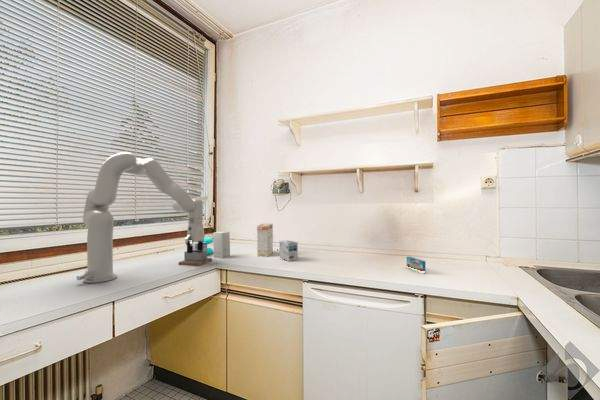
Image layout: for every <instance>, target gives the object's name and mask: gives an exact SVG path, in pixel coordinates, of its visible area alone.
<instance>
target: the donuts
mask: <svg viewBox="0 0 600 400" xmlns="http://www.w3.org/2000/svg"><path fill="white" fill-rule="evenodd" d="M203 242H206V243H207V245H210V244H212V243H213V238H211V237H204V241H203ZM196 243H198V242H196ZM211 254H214V249H213V248H211V247H207V256H208V255H211Z"/></svg>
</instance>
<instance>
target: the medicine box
mask: <svg viewBox="0 0 600 400" xmlns="http://www.w3.org/2000/svg"><path fill="white" fill-rule="evenodd" d="M192 246H193V250H197V246H198V243H197V242H193V244H192ZM207 248H208V244H207V243H206V242H203V250H202V251H207Z"/></svg>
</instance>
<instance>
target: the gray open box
mask: <svg viewBox="0 0 600 400" xmlns="http://www.w3.org/2000/svg"><path fill="white" fill-rule="evenodd" d="M183 253H184V259H183V261H194V262H201V261H204V260H207V258H208V255H207V251H202V250H193V253H187V250H186V251H184V252H183Z"/></svg>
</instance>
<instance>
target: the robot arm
mask: <svg viewBox="0 0 600 400" xmlns="http://www.w3.org/2000/svg"><path fill="white" fill-rule="evenodd" d="M123 173H124V174H131V175H136V176H144V177H145V176H146V177H147V178H148V180H150V181H151V183H152V184H153V185H154V187H155V188H156V189H157V190H158V191H159V192H161V193H163V194H165V195H166V196H169V197H170V198H172V200H174V201H173V202H172V208H173V210H174V211H175V212H176V213H177V212H178V213H182V214H183V213H187V214H188V221H187V233H186V237H184V242H185V245H186V251H187V253H193V246H192V244H193V243H197V242H198V246H197V250H203V241H204V238H206V235H205V230H204V229H205V227H204V223H203V217H204V216H203V214H204V210H203V208H204V206H203V205H204V203H203V202H204V201H203V200H202V199H192V197H191V196H190V195H189V193H188V192H187V191H186V190H185V189H184V188H183V187H181V186H180V185H179V184H178V183H177V182H176V181H175V180H173V179H172V177H171V176H170V175H169V174H168V173H167V171H166V170H165V168H164V167H163V166H162V165H161V164H160V163H159V162H158V160H156V159H154V158H151V157H150V158H144V159H142V158H137V157H136V156H135V154H133V153H132V152H129V151H121V152H119V153H115V154H113V155H111V156H109V157H108V158H106V160H105V161H104V162H103V163H102V164H101V166H100V168H99V171H98V174H97V178H96V181H95V186H94V187H92V188H91V189H90V190H89V191H88V193H87V197H86V200H85V204H84V209H83V215H82V221H83V224H84V225H85V226H86V227H87V237H86V243H87V245H86V247H87V248H86V250H87V251H86V253H87V254H86V256H87V258H86V259H87V260H86V261H87V262H86V263H87V266H86V267H87V269H86V270H85V271H84V273H83V274H79V275H77V276H76V278H75V279H76V280H77V281H83V282H84V283H89V284H94V283H95V284H96V283H97V284H98V283H103V282H108V281H111V280H115V279H116V278H117V277H118V274H117V273H115V272H114V263H113V262H114V258H113V257H114V256H113V255H114V251H113V250H114V247H113V246H114V245H113V244H114V242H113V238H114V235H113V234H114V225H115V219H114V216H113V214H112V213H111V212H110V211H109V209H110V206H112V205H113V204H114V203H115V202H116V200H117V192H118V188H119V184H120V179H121V176H122V175H123Z"/></svg>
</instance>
